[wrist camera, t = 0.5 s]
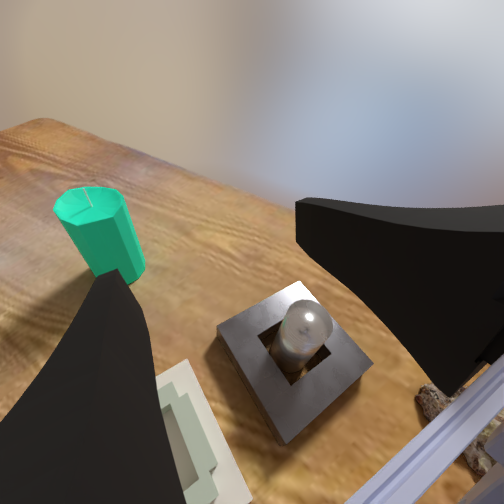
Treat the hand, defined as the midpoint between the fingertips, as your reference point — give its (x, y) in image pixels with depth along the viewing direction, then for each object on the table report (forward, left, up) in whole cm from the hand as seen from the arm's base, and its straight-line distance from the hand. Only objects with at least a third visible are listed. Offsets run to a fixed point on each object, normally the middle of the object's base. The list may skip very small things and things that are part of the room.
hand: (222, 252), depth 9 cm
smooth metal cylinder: (-2, -8, -19) cm, 21 cm away
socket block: (-2, -8, -19) cm, 21 cm away
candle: (+18, +4, -19) cm, 27 cm away
